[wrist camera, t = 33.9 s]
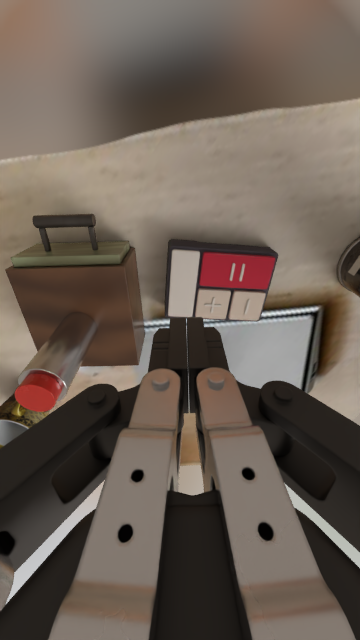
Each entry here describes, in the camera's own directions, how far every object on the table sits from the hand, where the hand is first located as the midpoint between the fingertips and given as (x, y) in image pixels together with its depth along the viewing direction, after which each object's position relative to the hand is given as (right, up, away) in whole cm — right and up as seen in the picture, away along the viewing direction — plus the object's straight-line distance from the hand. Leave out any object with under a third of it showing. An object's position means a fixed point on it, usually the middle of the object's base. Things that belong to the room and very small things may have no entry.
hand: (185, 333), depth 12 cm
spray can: (-14, 0, +22) cm, 26 cm away
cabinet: (-14, +4, +29) cm, 32 cm away
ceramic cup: (-29, -13, +40) cm, 51 cm away
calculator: (+5, +7, +27) cm, 29 cm away
